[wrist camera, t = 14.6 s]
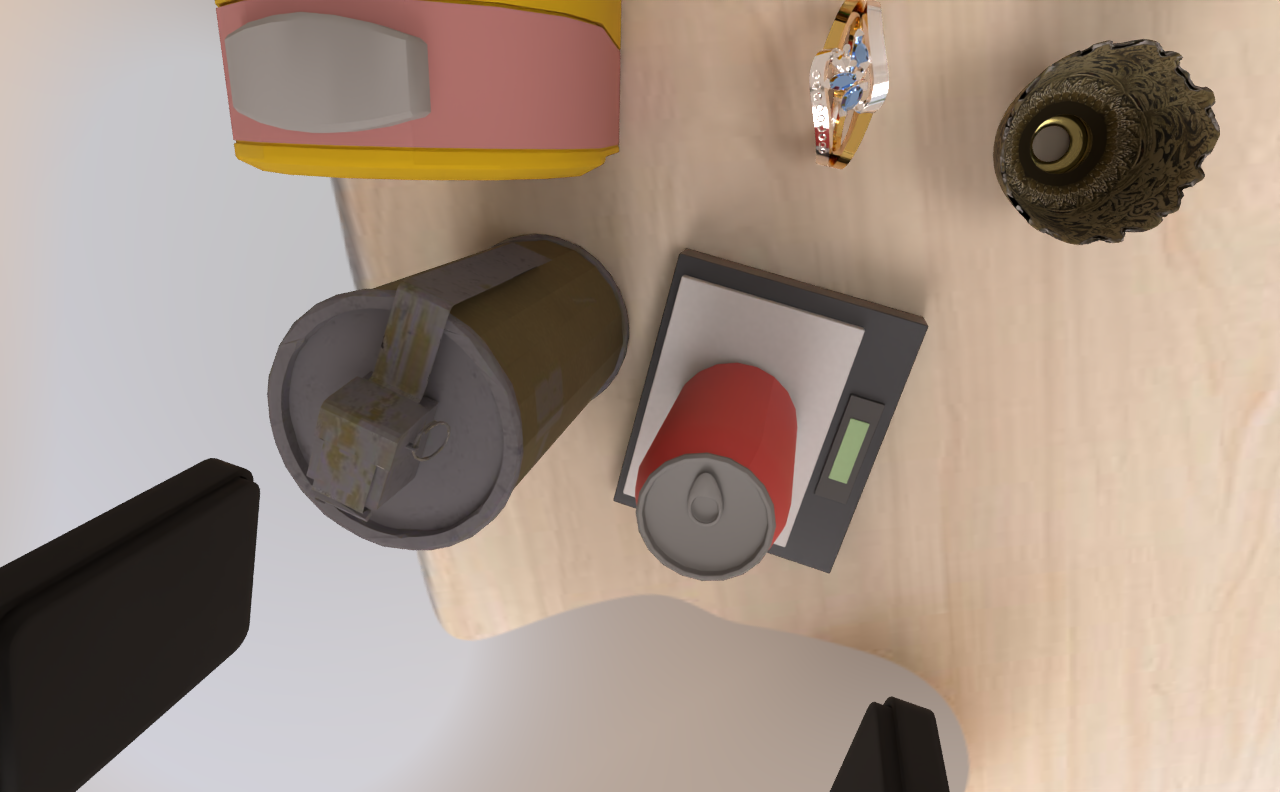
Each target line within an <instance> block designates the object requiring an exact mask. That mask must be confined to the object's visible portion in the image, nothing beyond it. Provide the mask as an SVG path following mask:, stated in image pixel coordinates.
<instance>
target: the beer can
mask: <svg viewBox="0 0 1280 792" xmlns="http://www.w3.org/2000/svg"><path fill="white" fill-rule="evenodd" d="M796 440H797V417H796V409H795V406H794V404H793V402H792V400H791V398H790V395H789V393H788V391H787V390H786V389H785V388H784V387H783V386H782V385H781V384H780V383H779V382H778V380H777V379H776V378H775V377H774V376H772V375H770V374H768V373H766V372H765V371H763V370H761V369H759V368H758V367H755V366H750V365H746V364H741V363H726V364H716V365H714V366H712V367H709V368H707V369H704V370H702V371H700V372H698V373H697V374H696V375H695V376H694V377H692V378H691V379H690V380H689V381H688V382H687V383H686V384H685V385H684V387H683V388H682V390H681V392H680V394H679V395H678V397H677V399H676V401H675V402H674V404H673V406H672V408H671V410H670V411H669V413H668V415H667V417H666V419H665V420H664V422H663V424H662V426H661V428H660V429H659V431H658V433H657V435H656V437H655V439H654V440H653V442H652V444H651V446H650V448H649V449H648V451H647V453H646V455H645V457H644V458H643V460H642V462H641V464H640V466H639V470H638V475H637V481H636V486H635V498H636V505H637V507H636V517H637V523H638V529H639V533H640V534H641V536H642V538H643V540H644V542H645V544H646V546H647V548H648V550H649V551H650V552H651V553H652V554H653V555H654V556H655V557H656V558H657V559H658V560H659V561H660V562H661V563H662V564H663V565H665V566H666V567H668V568H670V569H671V570H673V571H675V572H677V573H678V574H680V575H682V576H686V577H690V578H694V579H697V580H701V581H720V580H727V579H730V578H733V577H736V576H739V575H742V574H744V573H746V572H747V571H748V570H750V569H751V568H753V567H754V566H755V565H757V564H758V563H760V561H761V560H762V558H763V557H764V556H765V554H766V553H767V551H768V550H769V549H770V548H771V546H772V545H773V543H774V542H775V541H776V539H777V538H778V536H779V535H780V533H781V532H782V530H783V529H784V527H785V526H786V522H787V518H788V514H789V511H790V507H791V501H792V488H793V476H794V464H795V452H796Z"/></svg>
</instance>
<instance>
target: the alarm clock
mask: <svg viewBox="0 0 1280 792" xmlns="http://www.w3.org/2000/svg"><path fill="white" fill-rule="evenodd" d="M215 4H216V5H217V6H218V8H216V13H217V20H218V27H219V35H220V42H221V50H222V57H223V65H224V72H225V80H226V87H227V95H228V102H229V109H230V117H231V124H232V132H233V139H234V140H236V143H235V144H234V147H235V154H236V157H237V158H238V159H239V160H241V161H243V162H245V163H248V164H250V165H252V166H254V167H256V168H258V169H261V170H262V171H268V172H275V173H282V174H289V175H306V176H322V177H338V178H366V179H401V180H517V179H550V178H562V177H574V176H581V175H583V174H585V173H587V172H589V171H591V170H593V169H595V168H597V167H598V166H600V165H602V164H603V163H604V162H605V160H606V156H609V155H612V154H614V153H617V152H619V147H618V144H619V108H620V51H619V50H620V47H621V0H215Z"/></svg>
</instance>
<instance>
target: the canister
mask: <svg viewBox="0 0 1280 792" xmlns="http://www.w3.org/2000/svg"><path fill="white" fill-rule="evenodd" d="M628 339H629V325H628V317H627V311H626V308H625V305H624V302H623V299H622V296H621V293H620V290H619V288H618V286H617V285H616V283H615V281H614V280H613V278H612V276H611V274H610V273H609V272H608V271H607V270H606V269H605V268H604V266H603V265H602V264H601V263H600V262H599V261H598V260H597V259H596V258H594V257H593V256H592V255H590V254H589V253H588V252H587V251H585V250H584V249H583V248H581V247H580V246H577V245H575V244H572V243H570V242H567V241H565V240H563V239H560V238H557V237H553V236H548V235H537V234H535V235H523V236H518V237H513V238H509V239H507V240H505V241H503V242H500V243H498V244H496V245H494V246H493V247H491V248H490V249H488V250H485V251H482V252H479V253H476V254H473V255H470V256H467V257H464V258H461V259H458V260H456V261H453V262H450V263H447V264H444V265H441V266H438V267H435V268H432V269H429V270H426V271H423V272H420V273H417V274H414V275H411V276H409V277H406V278H403V279H400V280H397V281H394V282H391V283H388V284H385V285H382V286H379V287H376V288H373V289H362V290H357V291H353V292H348V293H343V294H338V295H335V296H333V297H331V298H329V299H326V300H324V301H322V302H320V303H318V304H316V305H314V306H313V307H312V308H311V309H310V310H309V311H307V312H306V313H305V314H304V315H303V316H302V317H300V318H299V319H298V320H297V321H295V322H294V324H293V325H292V326H291V328H290V330H289V331H288V333H287V334H286V336H285V337H284V339H283V341H282V342H281V343H280V345H279V348H278V351H277V353H276V356H275V359H274V362H273V365H272V368H271V371H270V374H269V380H268V393H267V395H268V406H269V418H270V423H271V427H272V431H273V435H274V439H275V443H276V445H277V448H278V450H279V453H280V455H281V457H282V459H283V462H284V464H285V466H286V468H287V469H288V471H289V473H290V474H291V476H292V477H293V479H294V480H295V482H296V483H297V484H298V486H299V487H300V489H301V490H302V492H303V493H305V495H306V496H307V497H308V498H309V499H310V500H311V501H312V502H313V503H314V504H315V505H316V506H317V507H318V508H319V509H320V510H321V511H322V512H323V514H324V515H326V516H327V517H329V518H330V519H332V520H333V521H334V522H336V523H337V524H339V525H340V526H342V527H344V528H345V529H347V530H349V531H350V532H352V533H354V534H356V535H357V536H359V537H361V538H363V539H366V540H368V541H371V542H373V543H376V544H378V545H381V546H384V547H392V548H400V549H408V550H434V549H439V548H444V547H450V546H452V545H454V544H457V543H459V542H461V541H464V540H466V539H468V538H471V537H473V536H474V535H475V534H476V533H478V532H479V531H480V530H481V529H483V528H484V527H485V526H486V525H488V524H489V523H490V522H491V521H493V520H494V519H495V518H496V517H497V515H498V514H499V513H500V512H501V510H502V509H503V508H504V507H505V505H506V503H507V501H508V499H509V497H510V495H511V493H512V491H513V489H514V488H515V487H516V486H517V485H518V483H519V482H520V481H521V480H522V479H523V478H524V476H525V475H526V474H527V473H528V472H529V471H530V470H531V468H532V467H533V466H534V465H535V464H536V463H537V462H538V460H539V459H540V458H541V457H542V456H543V455H544V453H545V452H546V451H547V450H548V449H549V448H550V447H551V445H552V444H553V443H554V442H555V441H556V440H557V439H558V437H559V436H560V435H561V434H562V433H563V432H564V430H565V429H566V428H567V427H568V426H569V425H570V424H571V422H572V421H573V420H574V419H575V418H576V417H577V415H578V414H579V413H580V412H581V411H582V410H583V409H584V407H585V406H586V405H587V404H588V403H589V402H590V401H591V400H592V399H594V398H595V397H597V396H598V395H599V394H600V393H601V392H603V391H604V390H605V389H606V388H607V387H608V386H609V385H610V383H611V382H612V380H613V379H614V378H615V376H616V375H617V374H618V371H619V369H620V367H621V364H622V362H623V360H624V358H625V355H626V350H627V344H628Z"/></svg>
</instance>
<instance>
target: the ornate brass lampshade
mask: <svg viewBox="0 0 1280 792" xmlns="http://www.w3.org/2000/svg"><path fill="white" fill-rule="evenodd" d="M1112 43H1113V41H1110V40H1109V41H1104V42H1101V43H1097V44H1094V45H1092V46H1091V47H1089V48H1088V49H1086V50H1084V51H1077V52H1075V53H1072V54H1070V55H1068V56H1066V57H1064V58H1062V59H1061V60H1059V61H1057V62H1055V63H1054V64H1052V66H1049V67H1048V68H1047V69H1045V70H1044V71H1043V72H1042V73H1041V74H1040V75H1039V76H1038V77H1037V78H1036V79H1034V80H1033V81H1032V82H1031V83H1030V84H1029V85H1027V86H1026V87H1025V88H1024V89H1023V90H1022V91H1021V92H1020V93H1019V95H1018V96H1017V97H1016V98H1015V99H1014V101H1013V102H1012V103H1011V104H1010V106H1009V108H1008V109H1007V111H1006V112H1005V114H1004V116H1003V118H1002V120H1001V122H1000V125H999V127H998V130H997V133H996V137H995V142H994V152H993V159H994V168H995V173H996V176H997V179H998V182H999V184H1000V186H1001V188H1002V190H1003V192H1004V194H1005V195H1006V197H1007V198H1008V200H1009V201H1010V202H1011V203H1012V205H1013V206H1014V207H1015V208H1016V209H1017V211H1018V212H1019V213H1020V214H1021V215H1022V216H1023V217H1024V218H1025V219H1026V220H1027V222H1028V223H1029V224H1030V225H1031V226H1032V227H1034V228H1035V229H1037V230H1039V231H1040V232H1043V233H1047V234H1049V235H1051V236H1052V237H1054V238H1056V239H1058V240H1061V241H1063V242H1066V243H1070V244H1076V245H1083V244H1089V243H1091V242H1095V241H1098V240H1102V241H1105V242H1109V243H1119V242H1122V241H1123V238H1124V235H1125V232H1144V231H1147V230H1150V229H1152V228H1154V227H1156V226H1158V225H1159V224H1160V223H1161V222H1162V221H1163V219H1162V217H1166V216H1167V215H1168V214H1171V213H1174V212H1176V211H1178V210H1179V207H1180V204H1181V199H1182V198H1183V196H1184V194H1183V192H1182V190H1183V189H1185V188H1188V187H1193V186H1194V185H1195V184H1196V183H1198V182H1199V181H1201V180H1202V179H1203V178H1204V177H1205V174H1204V172H1203V170H1202V169H1201V164H1202V162H1203V160H1204V159H1205V158H1206V156H1208V155H1209V154H1211V152H1212V150H1213V148H1214V146H1215V144H1216V142H1217V140H1218V138H1219V136H1220V128H1219V125H1218V123H1217V121H1216V119H1215V114H1214V112H1213V110H1212V109H1211V107H1212V106H1213V105H1214V104H1215V97H1214V94H1213V91H1212V90H1211V89H1209V88H1208V87H1198V86H1195V85H1194V84H1193V82H1192V81H1191V79H1190V74H1189V73H1188V72H1187V71H1185V70H1184V69H1182V68H1181V67H1180V66H1179V65H1180V62H1179V61H1180V60H1182V58H1183V57H1182V56H1181V55H1180V54H1179V53H1176V52H1173V51H1166V52H1165V51H1164V50H1163V49H1162V47H1161V46H1160V43H1158V42H1156V41H1153V40H1146V39H1141V40H1134V41H1129V42H1124V43H1114V44H1112ZM1049 126H1059V127H1062V128H1064V129H1065V130H1066V131H1067V132H1068V134H1069V136H1070V146H1069V149H1068V151H1067V152H1066V154H1065V155H1064V156H1063V157H1062V158H1060V159H1058V160H1056V161H1053V162H1044V161H1041V160H1039V159H1038V158H1037V157H1036V156H1035V155H1034V153H1033V149H1032V144H1033V140H1034V138H1035V136H1036V135H1037V134H1038V132H1040V131H1041V130H1042V129H1044V128H1046V127H1049ZM1123 232H1124V234H1123Z"/></svg>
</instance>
